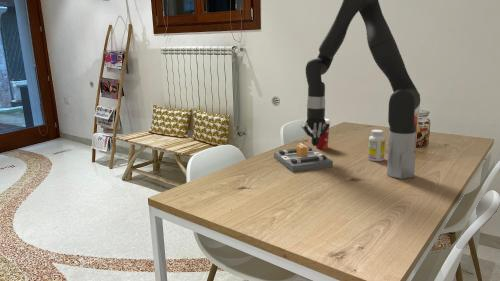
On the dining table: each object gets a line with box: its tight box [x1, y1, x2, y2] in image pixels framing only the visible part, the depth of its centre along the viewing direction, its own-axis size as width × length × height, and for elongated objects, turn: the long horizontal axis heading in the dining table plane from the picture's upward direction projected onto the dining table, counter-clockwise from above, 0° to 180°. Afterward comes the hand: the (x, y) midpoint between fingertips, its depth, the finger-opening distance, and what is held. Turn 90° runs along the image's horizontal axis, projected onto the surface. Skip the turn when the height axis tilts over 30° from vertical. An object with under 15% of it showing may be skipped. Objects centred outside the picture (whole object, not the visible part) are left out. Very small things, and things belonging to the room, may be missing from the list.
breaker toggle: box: [296, 142, 309, 157], centre depth 168 cm, size 5×3×5 cm, turn 16°
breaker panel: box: [273, 148, 334, 173], centre depth 168 cm, size 22×18×3 cm
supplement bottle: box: [367, 129, 386, 162], centre depth 167 cm, size 7×7×13 cm
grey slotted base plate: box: [279, 146, 327, 164], centre depth 168 cm, size 17×15×4 cm
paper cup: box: [315, 117, 331, 150], centre depth 188 cm, size 8×8×14 cm
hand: (315, 145), depth 169 cm, fingers closed
